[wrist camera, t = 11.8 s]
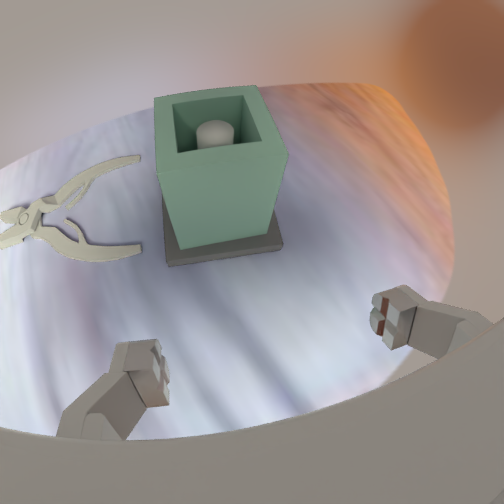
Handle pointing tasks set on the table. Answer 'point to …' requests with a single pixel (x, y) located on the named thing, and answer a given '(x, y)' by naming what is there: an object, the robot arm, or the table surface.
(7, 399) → the table surface
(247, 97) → the sleeve
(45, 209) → the pliers
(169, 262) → the post stand
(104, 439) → the robot arm
